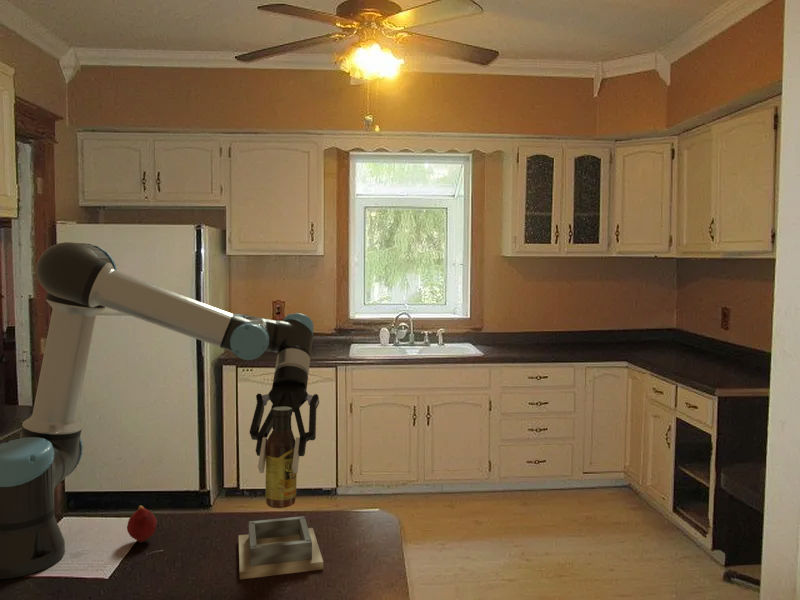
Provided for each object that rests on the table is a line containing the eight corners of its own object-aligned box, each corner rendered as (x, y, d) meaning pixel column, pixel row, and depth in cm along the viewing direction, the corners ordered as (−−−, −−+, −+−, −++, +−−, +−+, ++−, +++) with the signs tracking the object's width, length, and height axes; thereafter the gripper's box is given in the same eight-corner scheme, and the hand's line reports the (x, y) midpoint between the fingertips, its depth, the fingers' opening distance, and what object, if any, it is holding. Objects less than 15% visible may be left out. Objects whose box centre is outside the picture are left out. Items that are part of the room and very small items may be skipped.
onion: (157, 534, 134) (157, 499, 133) (155, 546, 128) (155, 509, 128) (128, 537, 132) (128, 502, 131) (125, 549, 126) (125, 512, 126)
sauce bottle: (289, 511, 121) (289, 413, 120) (260, 508, 122) (260, 411, 121) (301, 498, 127) (301, 405, 126) (273, 496, 129) (273, 403, 127)
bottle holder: (239, 579, 115) (239, 553, 115) (238, 542, 131) (238, 519, 130) (323, 569, 120) (323, 544, 119) (312, 534, 135) (312, 512, 135)
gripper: (335, 383, 139) (326, 478, 123) (251, 382, 139) (233, 477, 123) (332, 364, 133) (324, 461, 118) (246, 363, 133) (226, 460, 118)
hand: (277, 469), depth 121 cm, fingers closed on sauce bottle, 6 cm apart
